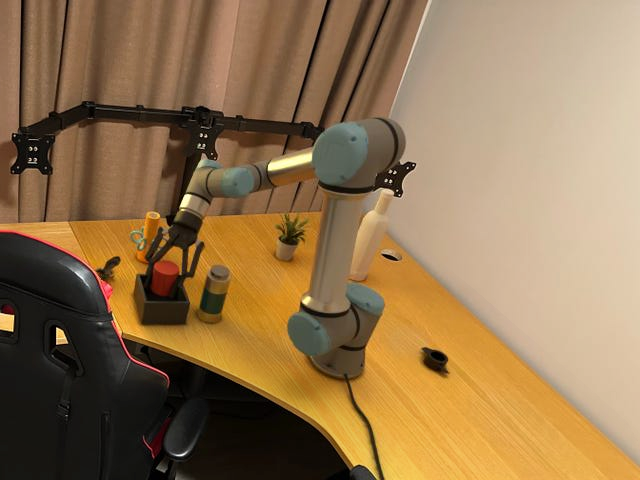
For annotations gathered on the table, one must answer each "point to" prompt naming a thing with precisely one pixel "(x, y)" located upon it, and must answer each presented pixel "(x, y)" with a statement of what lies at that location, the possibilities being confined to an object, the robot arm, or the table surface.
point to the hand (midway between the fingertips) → (158, 292)
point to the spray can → (214, 293)
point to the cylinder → (147, 235)
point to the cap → (164, 277)
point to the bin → (160, 304)
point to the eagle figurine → (108, 268)
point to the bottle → (370, 236)
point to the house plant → (289, 237)
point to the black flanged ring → (435, 359)
